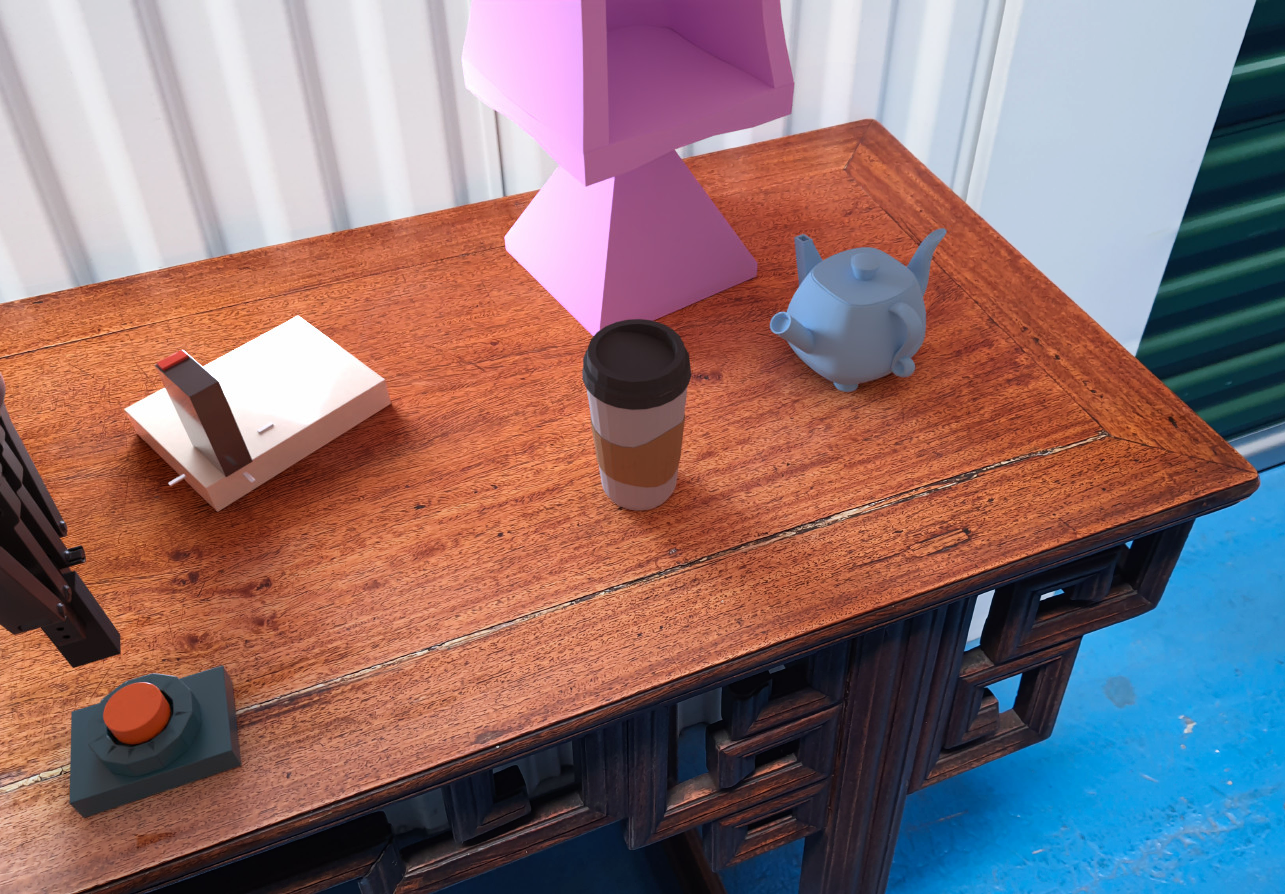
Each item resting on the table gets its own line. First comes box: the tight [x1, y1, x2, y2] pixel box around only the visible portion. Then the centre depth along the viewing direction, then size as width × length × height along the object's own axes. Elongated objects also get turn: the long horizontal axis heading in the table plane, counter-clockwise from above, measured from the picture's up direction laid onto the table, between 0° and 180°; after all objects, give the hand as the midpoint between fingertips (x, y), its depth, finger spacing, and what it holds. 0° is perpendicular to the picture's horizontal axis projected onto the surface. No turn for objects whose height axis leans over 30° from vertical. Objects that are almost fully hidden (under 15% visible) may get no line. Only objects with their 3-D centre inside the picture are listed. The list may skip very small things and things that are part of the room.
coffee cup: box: [581, 319, 692, 512], centre depth 79 cm, size 8×8×15 cm
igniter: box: [68, 664, 242, 819], centre depth 67 cm, size 10×7×4 cm
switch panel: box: [123, 315, 392, 513], centre depth 89 cm, size 20×16×3 cm
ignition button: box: [103, 682, 171, 745], centre depth 65 cm, size 4×4×2 cm
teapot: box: [769, 227, 947, 393], centre depth 92 cm, size 15×14×11 cm
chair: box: [461, 0, 795, 337], centre depth 91 cm, size 22×22×45 cm
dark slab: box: [154, 349, 253, 477], centre depth 80 cm, size 6×2×9 cm, turn 47°
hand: (96, 650), depth 60 cm, fingers closed
